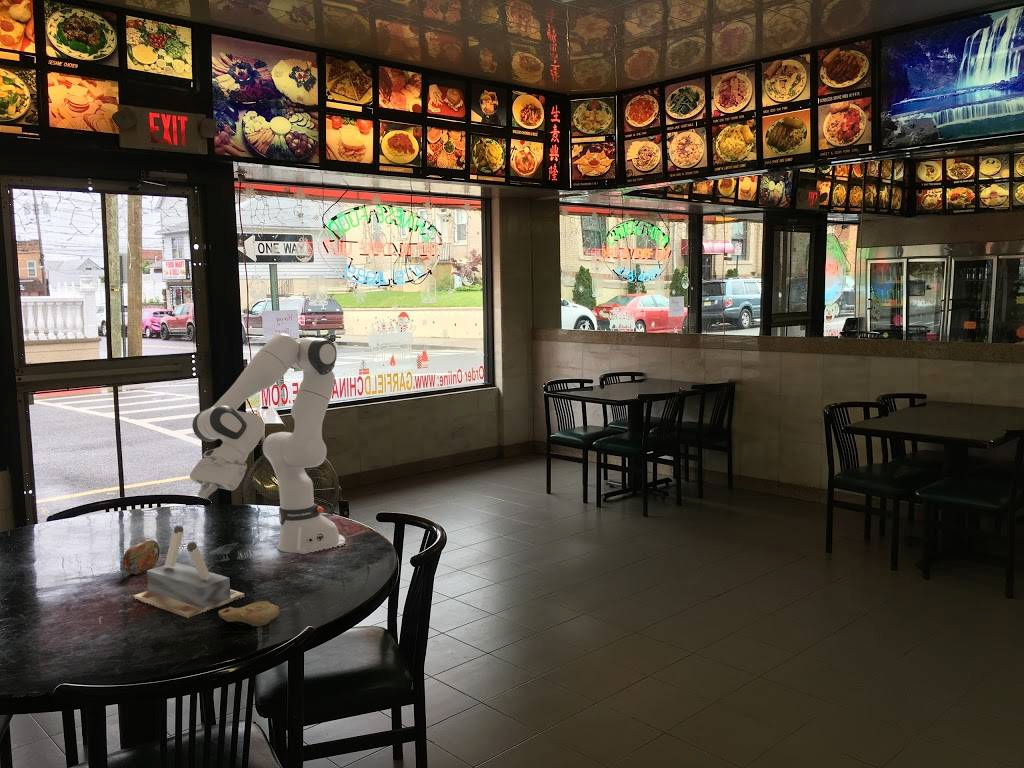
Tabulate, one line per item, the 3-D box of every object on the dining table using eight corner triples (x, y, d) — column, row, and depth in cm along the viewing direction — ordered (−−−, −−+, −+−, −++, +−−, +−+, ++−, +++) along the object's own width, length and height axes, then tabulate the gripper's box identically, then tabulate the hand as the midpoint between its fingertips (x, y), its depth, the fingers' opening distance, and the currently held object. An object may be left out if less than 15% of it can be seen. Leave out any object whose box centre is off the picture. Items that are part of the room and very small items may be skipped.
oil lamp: (217, 623, 218) (216, 605, 218) (271, 611, 226) (270, 593, 225) (227, 637, 209) (226, 618, 209) (283, 624, 217) (282, 605, 216)
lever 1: (170, 565, 243) (180, 525, 245) (176, 566, 242) (186, 526, 244) (162, 564, 241) (172, 524, 243) (168, 566, 240) (178, 525, 242)
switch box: (190, 579, 252) (188, 557, 251) (244, 596, 237) (242, 573, 236) (133, 598, 237) (132, 575, 236) (187, 617, 222) (186, 592, 221)
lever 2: (206, 573, 232) (190, 539, 228) (212, 575, 231) (197, 541, 226) (198, 579, 231) (183, 544, 226) (205, 581, 229) (189, 546, 224)
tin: (131, 578, 255) (129, 551, 254) (122, 577, 255) (120, 551, 254) (161, 562, 269) (159, 536, 268) (152, 561, 270) (150, 536, 269)
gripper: (255, 469, 252) (229, 507, 245) (215, 462, 264) (189, 498, 257) (242, 457, 248) (215, 495, 241) (202, 450, 260) (175, 486, 253)
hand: (201, 497), depth 249 cm, fingers closed
